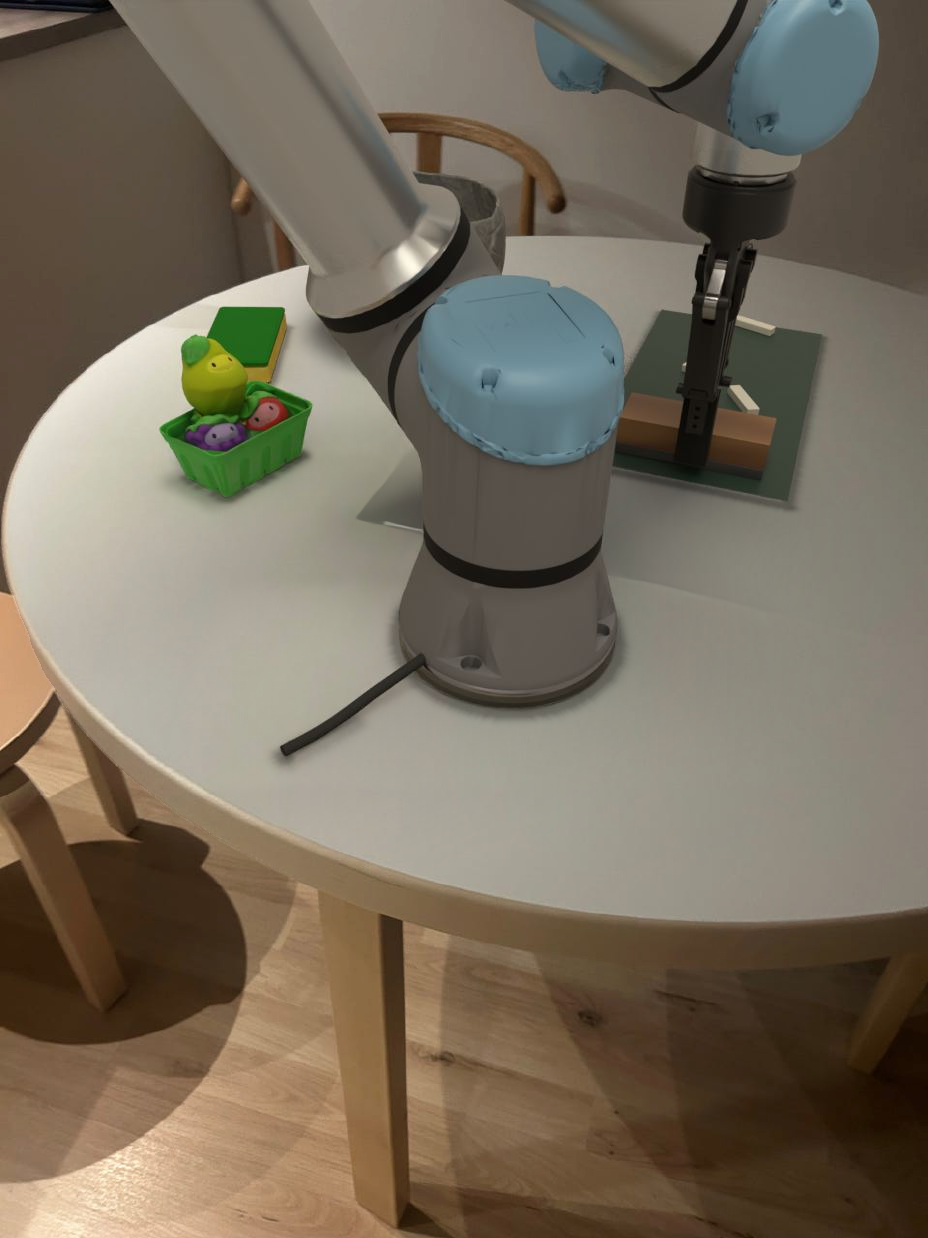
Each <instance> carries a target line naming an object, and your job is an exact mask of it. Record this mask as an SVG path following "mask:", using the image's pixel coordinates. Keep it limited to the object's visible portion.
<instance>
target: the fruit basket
mask: <svg viewBox="0 0 928 1238" xmlns="http://www.w3.org/2000/svg"><path fill="white" fill-rule="evenodd" d="M206 337H207V336H205V335H198V334H197V333H195V334H192V335H191V336H189V338H186V339H185V340H184V341H183V343H182V345H181V347H180V353H181V365H182V371H181V380H180V381H181V388H182V392H183V395H184V397H185V399H186V401H187V403H188V404H189V405H190V406H191V407H192V409H190V410H188V411H186V412H184V413H182V414H181V415H177V417H174V418H173V419H171V420H169V421H166V422H165V423H163V424H162V425H161V426H159V429H158V431H159V433H160V434H161V436H162V437H163V439H164V441H165V442H166V443H168V445H169V447H170V449H171V451H172V452H173V454H174V456H175V459H176V460H177V461H178V463H179V465H180V467H181V469H182V470H183V472H184V474H185V475H186V478H187V479H188V480H190V481H192V482H193V481H194V482H196V483H198V484H199V485H200V486H201V487H204V488H206V489H208V490H210V491H213V492H215V493H219V494H220V495H221V496H222V497H224V498H230V497H231V496H233V495H235V494H237V493H238V492H240V491H241V490H242V489H243V488H246V487H248V486H250V485H252V484H254V483H256V482H257V481H259V480H261V479H262V478H263V477H264V476H266V475H268V474H271V473H273V472H275V471H276V470H278V469H280V468H282V467H283V465H285V464H286V463H290V462H292V461H295V459H297V458H299V457H300V456H302V453H303V452H302V451H303V446H304V442H305V436H306V435H305V434H306V431H307V426H308V420H309V417H310V416H311V414H312V410H313V406H314V405H313V402H311V401H310V400H308V399H306V398H303V397H301V396H299V395H296V394H293V393H291V392H288V391H286V390H284V389H281V388H279V387H276V386H274V385H272V384H270V383H264V382H262V381H250V382H248V383H247V381H248V375H247V372H246V370H245V368H244V367H243V366H242V364H241V363H240V362H239V361H238V360H237V359H236V358H235V357H234V356H232V355H231V354H230V353H228V352H227V351H225V349H224V348H223V347H222V346H221V345H220V344H219V343H218V342H217V341H215V340H213V339H210V338H206Z"/></svg>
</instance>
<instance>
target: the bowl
mask: <svg viewBox="0 0 928 1238" xmlns="http://www.w3.org/2000/svg"><path fill="white" fill-rule="evenodd" d="M411 171H412V172H413V174H414V176H415V177H416V179H417V181H418V182H419V183H422V184H429V185H436V186H441V187H444V188H446V189H448V190H449V191H451V192H452V193H453V194H454V196H455V197H456V198H457V200H458V202H459V204H460V206H461V207H462V209H463V211H464V212H465V214H466V216H467V217H468V219H469V221H470V222H471V224H472V226H473V227H474V229H475V231H476V233H477V234H478V236H479V238H480V239H481V241H482V243H483V245H484V246H485V248H486V250H487V252H488V253H489V255H490V257H491V258H492V260H493V262H494V263H495V265H496V267H497V268H498V270H499V271H500V272H501V274H502V275H503V271H504V267H505V261H506V245H507V241H506V240H507V231H506V217H505V214H504V209H503V206H502V203H501V199H500V197H499V195H498V193H497V192H496V191H495V189H494V188H492V187H491V186H489V185H488V184H486V183H484V182H481V181H479V180H478V179H475V178H472V177H468V176H464V175H460V174H459V175H458V174H449V173H448V174H447V173H444V172H443V173H442V172H440V173H434V172H426V171H418V170H411Z"/></svg>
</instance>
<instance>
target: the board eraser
mask: <svg viewBox="0 0 928 1238" xmlns="http://www.w3.org/2000/svg"><path fill="white" fill-rule="evenodd" d="M682 407H683V401H677V400H671V399H666V398H660V397H655V396H649V395H643V394H638V393H631V395H630V397H629V399H628V401H627V403H626V405H625V407H624V409H623V411H622V414H621V416H620V418H619V423H618V431H617V438H616V446H615V452H620V453H625V454H630V455H635V456H640V457H645V458H650V459H656V460H661V461H666V462H671V463H676V464H681V465H686V466H691V467H696V468H702V469H707V470H712V471H717V472H722V473H727V474H732V475H737V476H742V477H748V478H753V479H758V480H761V479H762V475H763V471H764V467H765V463H766V459H767V455H768V451H769V448H770V444H771V440H772V436H773V432H774V428H775V424H776V420H777V418H772V417H766V416H761V415H755V414H750V413H744V412H738V411H733V410H727V409H722V408H718V409H717V414H716V419H715V424H714V429H713V434H712V439H711V445H710V450H709V455H708V459H707V462H706V465H705V466H700V465H694V464H689V463H684V462H679V461H674V454H675V448H676V442H677V436H678V430H679V424H680V418H681V413H682Z"/></svg>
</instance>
